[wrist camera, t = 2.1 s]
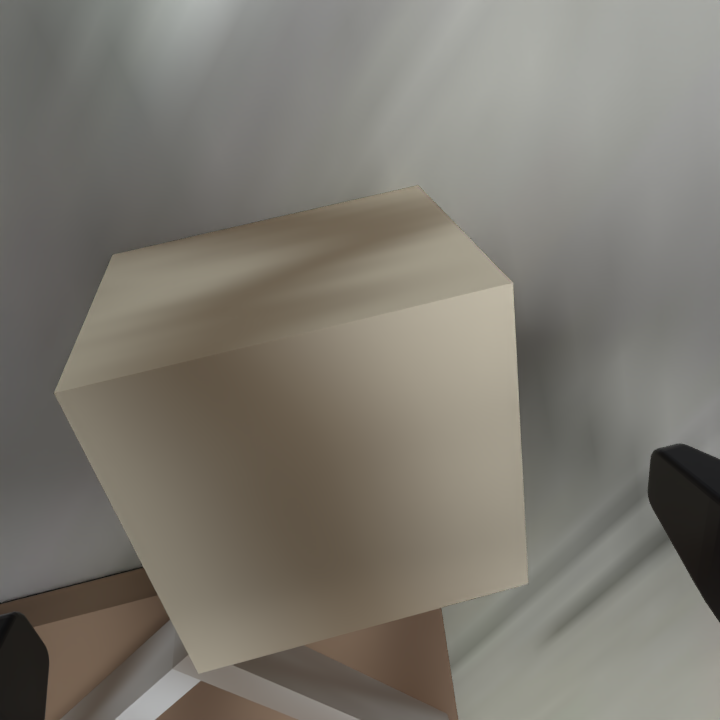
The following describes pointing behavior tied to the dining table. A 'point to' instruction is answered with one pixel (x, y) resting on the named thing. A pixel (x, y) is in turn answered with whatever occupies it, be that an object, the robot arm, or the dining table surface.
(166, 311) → the ash block
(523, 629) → the dining table surface
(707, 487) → the robot arm
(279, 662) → the socket board
